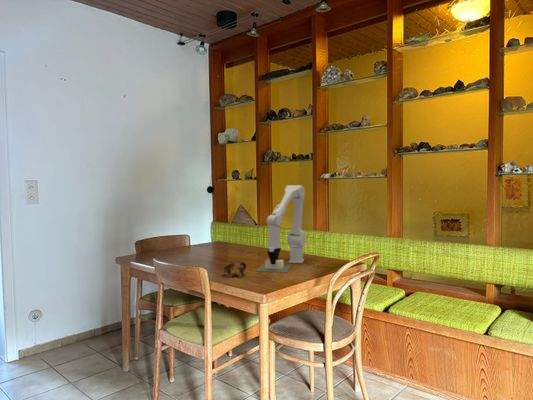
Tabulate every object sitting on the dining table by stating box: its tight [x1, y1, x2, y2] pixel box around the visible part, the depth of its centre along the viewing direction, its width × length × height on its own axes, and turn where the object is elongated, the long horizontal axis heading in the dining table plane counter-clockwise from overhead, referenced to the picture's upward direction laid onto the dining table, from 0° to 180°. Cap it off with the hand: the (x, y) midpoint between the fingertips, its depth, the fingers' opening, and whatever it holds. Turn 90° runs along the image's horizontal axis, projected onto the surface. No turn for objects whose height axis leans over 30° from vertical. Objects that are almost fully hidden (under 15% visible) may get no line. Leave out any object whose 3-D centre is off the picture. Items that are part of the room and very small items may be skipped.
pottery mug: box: [223, 260, 247, 278], centre depth 200 cm, size 12×10×8 cm
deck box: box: [264, 258, 285, 269], centre depth 214 cm, size 9×5×4 cm, turn 77°
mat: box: [255, 263, 293, 274], centre depth 214 cm, size 16×16×1 cm
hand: (274, 263), depth 214 cm, fingers open, 6 cm apart
